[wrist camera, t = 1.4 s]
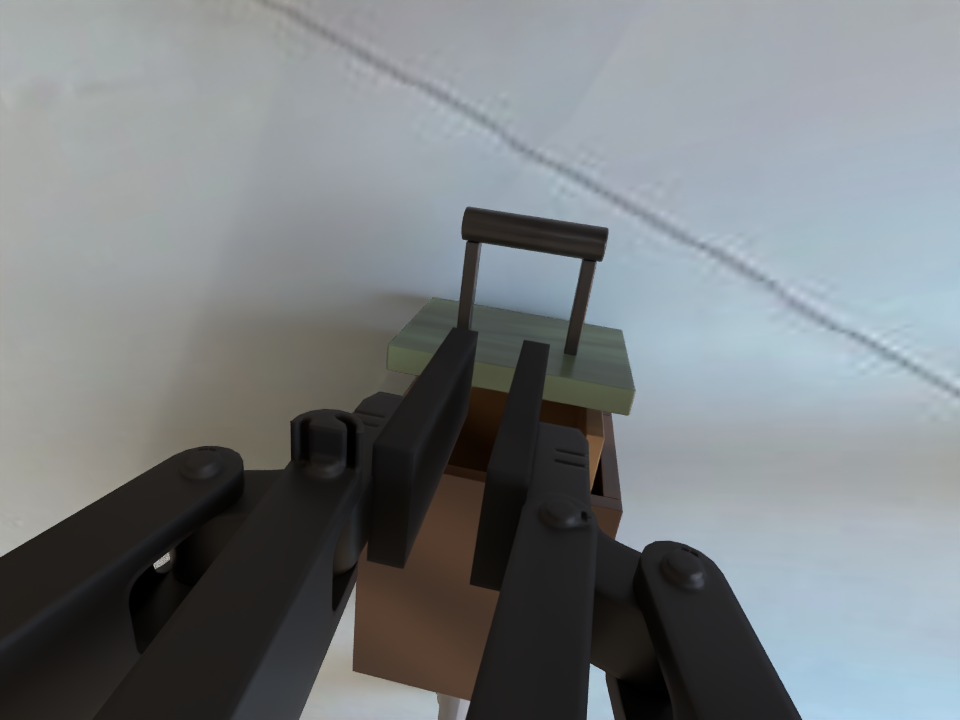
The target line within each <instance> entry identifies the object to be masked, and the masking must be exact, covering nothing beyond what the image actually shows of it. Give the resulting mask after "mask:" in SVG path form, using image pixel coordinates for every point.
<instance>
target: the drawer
mask: <svg viewBox="0 0 960 720" xmlns="http://www.w3.org/2000/svg"><path fill="white" fill-rule="evenodd" d="M461 234H462V239H463V240H468V241H467V242H466V250H465V259H464V267H463V276H462V285H461V294H460V302H457V301H451V300H446V299H440V298H434V297H433V298H432V299H431V300H430V301H429V302H428V303H427V304H426V305H425V306H424V307H423V308H422V310H421V311H420V312H419V313H418V314H417V315H416V316H415V317H414V318H413V319H412V320H411V321H410V322H409V323H408V324H407V325H406V326H405V328H404V329H403V330H402V331H401V332H400V333H399V334H398V335H397V336H396V337H395V338H394V339H393V340H392V341H391V342H390V343H389V344H388V351H387V367H386V368H387V370H391V371H396V372H401V373H407V374H412V375H417V377H416V378H415V379H414V381H413V382H412V384H411V385H410V387H409V388H408V389H407V391H406V392H405V394H404V395H403V396H404V397H405V396H406V395H407V393H408V392H409V390H410V389H411V388H412V386H413V385H414V383H415V382H416V380H417V379H418V377H419V376H420V374H421V373H422V371H423V370H424V369H425V367H426V366H427V364H428V363H429V361H430V360H431V358H432V357H433V355H434V354H435V353H436V351H437V350H438V348H439V347H440V345H441V344H442V342H443V341H444V339H445V338H446V337H447V335H448V334H449V332H450V331H451V329H452V328H453V327H456V328H461V329H467V330H472V331H478V339H477V347H476V355H475V362H474V370H473V377H472V385H471V393H470V400H469V408H468V414H467V417H466V419H465V422H464V424H463V426H462V429H461V431H460V434H459V436H458V439H457V441H456V443H455V446H454V448H453V451H452V453H451V456H450V458H449V460H448V463H447V464H448V465H453V466H458V467H463V468H467V469H472V470H477V471H482V472H487V468H488V464H489V461H490V457H491V454H492V450H493V447H494V443H495V440H496V436H497V433H498V429H499V426H500V422H501V419H502V415H503V412H504V408H505V404H506V401H507V397H508V394H509V390H510V387H511V383H512V380H513V376H514V373H515V369H516V366H517V362H518V359H519V355H520V352H521V348H522V345H523V341H524V340H528V341H534V342H540V343H545V344H550V349H549V356H548V363H547V369H546V376H545V383H544V390H543V397H542V403H541V410H540V417H539V421H540V422H546V423H551V424H556V425H561V426H566V427H571V428H576V429H580V430H581V432H582V433H583V435H584V436H585V438H586V439H587V440H588V442H589V469H590V494H591V490H592V486H593V482H594V478H595V474H596V470H597V467H598V463H599V459H600V455H601V451H602V447H603V443H604V439H605V437H604V425H603V412H602V411H606V412H611V413H617V414H622V415H627V416H628V415H629V414H630V410H631V407H632V403H633V399H634V396H635V392H636V391H635V386H634V382H633V377H632V373H631V368H630V364H629V359H628V355H627V350H626V346H625V341H624V337H623V332H622V330H619V329H613V328H607V327H601V326H596V325H590V324H584V320H585V315H586V311H587V306H588V301H589V297H590V292H591V287H592V283H593V278H594V273H595V269H596V264H597V263H596V261H599V262H601V261H602V260H603V257H604V253H605V249H606V244H607V239H608V228H605V227H599V226H592V225H586V224H579V223H573V222H566V221H559V220H553V219H546V218H540V217H533V216H527V215H520V214H514V213H507V212H501V211H494V210H487V209H481V208H474V207H467V208H466V210H465V212H464V216H463V221H462V230H461ZM482 243H486V244H493V245H499V246H505V247H511V248H518V249H524V250H530V251H536V252H543V253H549V254H555V255H561V256H568V257H574V258H580V259H582V263H581V268H580V273H579V278H578V283H577V288H576V292H575V297H574V302H573V307H572V312H571V317H570V321H567V320H561V319H555V318H549V317H544V316H538V315H532V314H526V313H521V312H515V311H509V310H503V309H498V308H492V307H486V306H480V305H474V301H475V293H476V285H477V277H478V269H479V261H480V253H481V245H482Z"/></svg>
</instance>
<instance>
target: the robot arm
mask: <svg viewBox="0 0 960 720" xmlns="http://www.w3.org/2000/svg"><path fill="white" fill-rule="evenodd" d="M477 339H478V331H472V330H467V329H461V328H456V327H453V328H452V329H451V331H450V332H449V334H448V335H447V337H446V338H445V339H444V341H443V342H442V344H441V345H440V347H439V348H438V350H437V351H436V353H435V354H434V355H433V357H432V358H431V360H430V361H429V363H428V364H427V366H426V367H425V369H424V370H423V371H422V373H421V374H420V376H419V377H418V379H417V380H416V382H415V383H414V385H413V386H412V388H411V389H410V390H409V392H408V393H407V395H406V396H405V397H404V396H399V395H394V394H389V393H384V392H378V393H376V394H374V395H372V396H370V397H368V398H366V399H364V400H363V401H362V402H361V403H360V405H359V406H358V407H357V408H356V409H355V412H353V413H349V412H345V411H342V410H333V409H321V410H314V411H309V412H306V413H304V414H301V415H299V416H297V417H296V418H294V419H293V420H292V421H290V423H291V461H290V462H289V464H288V465H287V466H286V468H285V469H282V470H244V465H243V460H242V458H241V456H240V454H239V453H237V452H235V451H234V450H232V449H230V448H225V447H220V446H202V447H197V448H193V449H188V450H185V451H183V452H181V453H178V454H176V455H174V456H172V457H170V458H168V459H167V460H165V461H163V462H162V463H160V464H158V465H156V466H155V467H153V468H151V469H150V470H148V471H146V472H145V473H143V474H141V475H139V476H138V477H136V478H134V479H133V480H131V481H129V482H128V483H126V484H124V485H122V486H121V487H119V488H117V489H116V490H114V491H112V492H111V493H109V494H107V495H105V496H104V497H102V498H100V499H99V500H97V501H95V502H94V503H92V504H90V505H88V506H87V507H85V508H83V509H82V510H80V511H78V512H77V513H75V514H73V515H71V516H70V517H68V518H66V519H65V520H63V521H61V522H60V523H58V524H56V525H55V526H53V527H51V528H49V529H48V530H46V531H44V532H43V533H41V534H39V535H38V536H36V537H34V538H32V539H31V540H29V541H27V542H26V543H24V544H22V545H21V546H19V547H17V548H15V549H14V550H12V551H10V552H9V553H7V554H5V555H4V556H2V557H0V720H299V718H300V716H301V713H302V711H303V708H304V706H305V704H306V701H307V699H308V696H309V694H310V692H311V689H312V687H313V684H314V682H315V679H316V677H317V675H318V672H319V670H320V667H321V665H322V662H323V660H324V658H325V655H326V653H327V650H328V648H329V646H330V643H331V641H332V638H333V636H334V633H335V631H336V629H337V626H338V624H339V621H340V619H341V616H342V614H343V612H344V609H345V607H346V604H347V602H348V600H349V597H350V595H351V592H352V590H353V587H354V585H355V583H356V580H357V574H358V561H359V556H360V554H361V552H362V551H363V549H364V547H365V545H366V543H367V541H368V545H367V561H370V562H374V563H379V564H383V565H387V566H391V567H396V568H400V569H404V567H405V564H406V562H407V560H408V557H409V555H410V552H411V550H412V547H413V545H414V543H415V540H416V538H417V535H418V533H419V531H420V528H421V526H422V523H423V521H424V518H425V516H426V514H427V511H428V509H429V506H430V504H431V502H432V499H433V497H434V494H435V492H436V489H437V487H438V485H439V482H440V480H441V477H442V475H443V472H444V470H445V468H446V465H447V463H448V460H449V458H450V456H451V453H452V451H453V448H454V446H455V443H456V441H457V439H458V436H459V434H460V431H461V429H462V426H463V424H464V422H465V419H466V417H467V414H468V408H469V400H470V393H471V385H472V377H473V370H474V362H475V355H476V347H477ZM549 349H550V344H545V343H540V342H534V341H528V340H524V341H523V345H522V348H521V352H520V355H519V359H518V362H517V366H516V369H515V373H514V376H513V380H512V383H511V387H510V390H509V394H508V397H507V401H506V404H505V408H504V412H503V415H502V419H501V422H500V426H499V429H498V433H497V436H496V440H495V443H494V447H493V450H492V454H491V457H490V461H489V464H488V468H487V474H486V481H485V487H484V494H483V500H482V507H481V513H480V519H479V526H478V532H477V539H476V545H475V552H474V558H473V564H472V571H471V577H470V584H469V585H473V586H478V587H482V588H486V589H490V590H495V591H499V592H500V594H499V597H498V601H497V605H496V608H495V612H494V616H493V619H492V623H491V627H490V630H489V634H488V638H487V641H486V645H485V649H484V652H483V656H482V660H481V663H480V667H479V671H478V674H477V678H476V682H475V685H474V689H473V693H472V696H471V700H470V704H469V708H468V711H467V715H466V719H465V720H586V719H587V703H588V686H589V670H590V663H591V664H593V665H594V666H596V667H598V668H600V669H602V670H603V671H605V672H606V683H607V687H608V692H609V696H610V701H611V705H612V710H613V714H614V718H615V720H802V718H801V716H800V715H799V713H798V711H797V709H796V707H795V705H794V704H793V702H792V700H791V698H790V696H789V694H788V692H787V691H786V689H785V687H784V685H783V683H782V681H781V680H780V678H779V676H778V674H777V672H776V670H775V668H774V667H773V665H772V663H771V661H770V659H769V657H768V656H767V654H766V652H765V650H764V648H763V646H762V645H761V643H760V641H759V639H758V637H757V635H756V633H755V632H754V630H753V628H752V626H751V624H750V622H749V621H748V619H747V617H746V615H745V613H744V611H743V609H742V608H741V606H740V604H739V602H738V600H737V598H736V597H735V595H734V593H733V591H732V589H731V587H730V586H729V584H728V582H727V580H726V578H725V576H724V574H723V573H722V572H721V571H720V569H719V568H718V567H717V565H716V564H715V563H714V562H713V561H712V560H711V559H709V558H708V557H707V556H705V555H704V554H703V553H702V552H700V551H698V550H696V549H694V548H692V547H690V546H688V545H686V544H682V543H678V542H673V541H655V542H653V543H651V544H649V545H647V546H645V548H644V550H643V552H642V553H641V552H638V551H636V550H634V549H632V548H630V547H627V546H625V545H623V544H621V543H619V542H618V541H616V540H614V539H612V538H611V537H610V536H608V535H607V534H606V533H604V532H603V531H602V530H601V528H600V527H599V526H598V522H597V518H596V515H595V514H594V512H593V511H592V510H591V501H590V469H589V442H588V440H587V439H586V438H585V436H584V435H583V433H582V432H581V430H580V429H576V428H571V427H566V426H561V425H556V424H551V423H546V422H540V421H539V417H540V410H541V403H542V397H543V390H544V383H545V376H546V369H547V363H548V356H549ZM168 552H169V554H170V560H169V561H168V562H166V563H165V564H164V565H162V566H160V567H158V568H157V569H154V566H153V564H154V563H155V562H156V561H158V560H159V559H160V558H161V557H163V556H164V555H165V554H167V553H168Z"/></svg>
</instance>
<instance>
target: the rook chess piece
mask: <svg viewBox="0 0 960 720" xmlns="http://www.w3.org/2000/svg"><path fill="white" fill-rule="evenodd" d="M436 694H437V700H438V703H439V713H438V720H465V719H466V715H467V711H468V708H469V704H470V701H468V700H464V699H460V698H456V697H452V696H448V695H444V694H440V693H436Z"/></svg>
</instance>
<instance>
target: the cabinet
mask: <svg viewBox="0 0 960 720" xmlns="http://www.w3.org/2000/svg"><path fill="white" fill-rule="evenodd" d="M602 412H603V425H604V437H605V439H604V443H603V447H602V451H601V455H600V459H599V463H598V467H597V470H596V474H595V478H594V482H593V486H592V490H591V494H590V501H591V510H592V511H593V512H594V514H595V515H596V518H597V522H598V526H599V527H600V528H601V530H602V531H603V532H604V533H606V534H607V535H608V536H610V537H611V538H612V539H614V540H615V537H616V534H617V530H618V527H619V523H620V520H621V516H622V513H623V510H622V502H621V492H620V484H619V475H618V466H617V458H616V449H615V440H614V432H613V423H612V414H611V412H606V411H602ZM486 474H487V472H482V471H477V470H472V469H467V468H463V467H458V466H453V465H448V464H447V465H446V468H445V470H444V472H443V475H442V477H441V480H440V482H439V485H438V487H437V489H436V492H435V494H434V497H433V499H432V502H431V504H430V506H429V509H428V511H427V514H426V516H425V518H424V521H423V523H422V526H421V528H420V531H419V533H418V535H417V538H416V540H415V543H414V545H413V547H412V550H411V552H410V555H409V557H408V560H407V562H406V564H405V567H404V569H400V568H396V567H391V566H387V565H383V564H379V563H374V562H370V561H367V545H368V541H367V543H366V545H365V547H364V549H363V551H362V552H361V554H360V556H359V561H358V574H357V580H356V603H355V626H354V649H353V671H355V672H359V673H362V674H366V675H370V676H374V677H378V678H382V679H386V680H390V681H394V682H398V683H401V684H405V685H409V686H413V687H417V688H421V689H425V690H429V691H433V692H436V693H440V694H444V695H448V696H452V697H456V698H460V699H464V700H468V701H470V700H471V696H472V693H473V689H474V685H475V682H476V678H477V674H478V671H479V667H480V663H481V660H482V656H483V652H484V649H485V645H486V641H487V638H488V634H489V630H490V627H491V623H492V619H493V616H494V612H495V608H496V605H497V601H498V597H499V594H500V592H499V591H495V590H490V589H486V588H482V587H478V586H473V585H469V584H470V577H471V571H472V564H473V558H474V552H475V545H476V539H477V532H478V526H479V519H480V513H481V507H482V500H483V494H484V487H485V481H486Z"/></svg>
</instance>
